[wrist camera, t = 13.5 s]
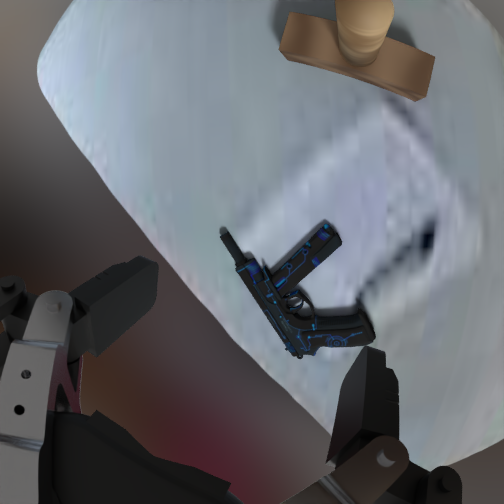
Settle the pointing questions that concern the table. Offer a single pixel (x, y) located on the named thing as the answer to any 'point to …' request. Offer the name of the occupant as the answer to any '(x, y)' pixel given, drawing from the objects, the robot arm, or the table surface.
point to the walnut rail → (329, 58)
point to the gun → (285, 317)
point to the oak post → (362, 28)
